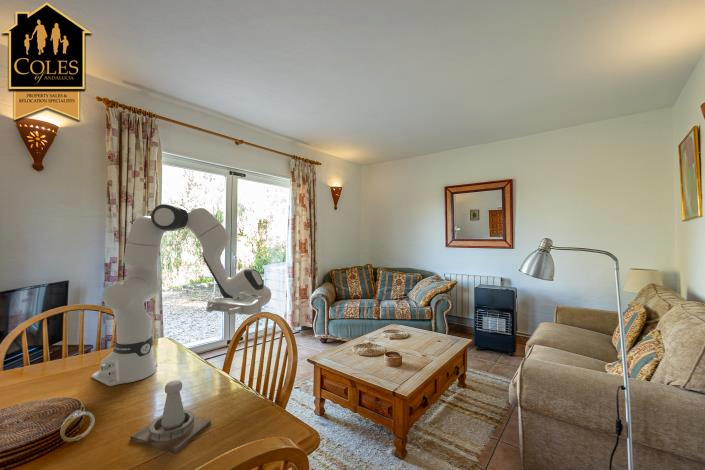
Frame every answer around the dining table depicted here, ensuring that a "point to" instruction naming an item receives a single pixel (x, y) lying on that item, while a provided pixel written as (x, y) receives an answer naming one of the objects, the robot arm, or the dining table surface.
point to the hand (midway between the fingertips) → (218, 310)
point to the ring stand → (171, 433)
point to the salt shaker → (173, 407)
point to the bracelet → (72, 416)
